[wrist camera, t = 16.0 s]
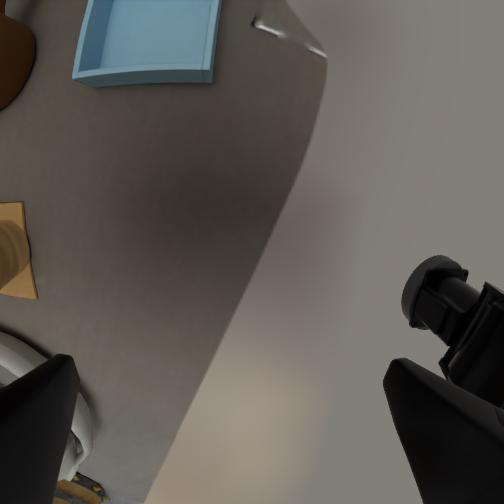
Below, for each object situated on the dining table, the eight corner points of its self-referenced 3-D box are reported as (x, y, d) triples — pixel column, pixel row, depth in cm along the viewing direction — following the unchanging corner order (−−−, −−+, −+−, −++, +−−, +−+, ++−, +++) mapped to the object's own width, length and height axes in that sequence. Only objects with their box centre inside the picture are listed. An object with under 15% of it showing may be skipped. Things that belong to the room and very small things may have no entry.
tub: (224, -15, 13) (225, -41, 10) (211, 83, 16) (209, 70, 13) (113, -8, 12) (97, -29, 9) (94, 88, 15) (71, 79, 12)
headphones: (103, 466, 27) (101, 352, 24) (93, 510, 20) (73, 404, 16) (-7, 418, 24) (-33, 295, 20) (-29, 450, 16) (-75, 321, 13)
